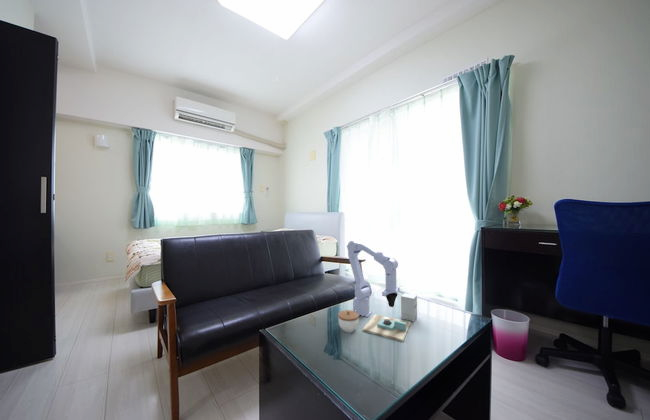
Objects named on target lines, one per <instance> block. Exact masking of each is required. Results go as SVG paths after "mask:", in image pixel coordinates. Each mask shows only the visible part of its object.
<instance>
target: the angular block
mask: <svg viewBox="0 0 650 420" xmlns="http://www.w3.org/2000/svg"><path fill="white" fill-rule="evenodd" d="M384 320H385V319H383V318H382V319H381V321H380V322H379V323H378V324H377V326H378V327H381V328H385V329H389V330H392V331H393V329H394V328H396V329H399V330H403V331H406V322H402V321H398V320H399V319H398V320H395V321H391V320H390V324H391V325H386V324H384Z"/></svg>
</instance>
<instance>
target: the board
mask: <svg viewBox="0 0 650 420" xmlns="http://www.w3.org/2000/svg"><path fill="white" fill-rule="evenodd" d="M382 318H383V319H385V320H384V324H386V325H391V324H390V320H391V321H395V320H398V321H402V322H406V331H403V330H399V329H396V328H394V329H393V331H392V330H389V329H385V328H381V327H378V326H377V324H378V323H379V322H380V321H381V319H382ZM411 322H412V321H407V320H404V319H403V320H402V319H397V318H393V317H388V316H383V315H380V314H373V316H372V317H371V318H370V319H369V321H368V322H367V323H366V324H365V326H364V327H363V328H362V332H365V333H369V334H373V335H376V336H379V337H383V338H387V339H391V340H395V341H400V342H404V341H405V339H406V336H407V334H408V332H409V329H410V327H411V324H412V323H411Z"/></svg>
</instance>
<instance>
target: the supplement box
mask: <svg viewBox="0 0 650 420" xmlns="http://www.w3.org/2000/svg"><path fill="white" fill-rule="evenodd" d="M400 317H401V319H403V320H405V321H407V320H408V321H409V322H415V320H416V319H417V318H418V295H416V294H412V293H406V292H405V293H404V292H403V294H402V295H401V296H400Z"/></svg>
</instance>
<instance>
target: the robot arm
mask: <svg viewBox="0 0 650 420" xmlns="http://www.w3.org/2000/svg"><path fill="white" fill-rule="evenodd" d="M346 248H347V257H348V261H349V264H350V267H351V271H352V274H353V277H354V281H355V285H354V296H355V297H354V298H353V300H352V311H355V310H356V311H355V312H357V313H358V314H359V316H360V315H361V316H360V317H364V316H365V318H368V317H369V316H370V315H371V314H372V311H371V310H370V298H371V296H372V293H373V292H372V289H371V287H370V286H369V282H367V281H366V280H365V278H364V274H363V271H362V268H361V264H360V260H359V257H358V255H359V254H360V253H361V252H362V251H363V252H365V253H366V254H368V255H370V256H372V257H373V260H374V261H376V262H377V263H378V264H380V265H381V266H382V267H383V269H384V270H385V271H384V272H385V273H384V276H385V289H384V290H383V291H382V292H381V296H382V297H385V298H386V300H387V304H388V307H390V308H394V306H395V303H396V302H395V301H396V299H397V298H398V293H399V291H400V286H397V269H398V267H399V263H398V260H396V259H395V258H393V257H392V258H391V257H390V256H388V255H386V254H384V252H383V251H376V250H375V249H374V248H372V247H370V245H368V244H367V243H366V242H365V241H363V240H361V239H359V240H350V241H349V242H348V244H347V245H346Z"/></svg>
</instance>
